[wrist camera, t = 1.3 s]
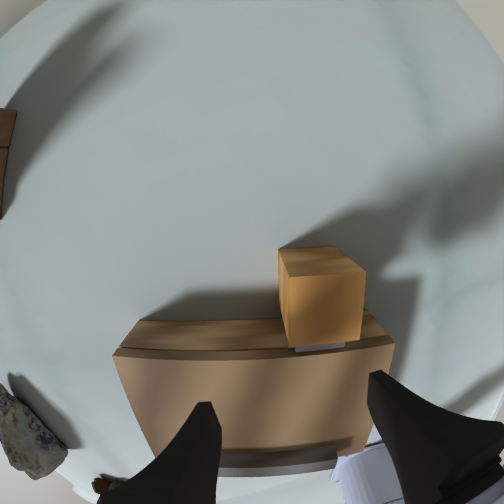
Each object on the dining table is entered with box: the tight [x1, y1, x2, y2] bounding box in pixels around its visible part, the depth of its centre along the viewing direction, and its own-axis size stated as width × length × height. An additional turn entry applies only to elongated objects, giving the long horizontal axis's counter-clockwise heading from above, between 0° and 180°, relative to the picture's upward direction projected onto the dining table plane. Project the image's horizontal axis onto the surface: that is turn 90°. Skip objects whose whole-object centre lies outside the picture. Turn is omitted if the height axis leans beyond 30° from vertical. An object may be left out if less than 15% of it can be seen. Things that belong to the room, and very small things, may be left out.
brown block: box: [278, 246, 367, 347], centre depth 17 cm, size 4×4×6 cm
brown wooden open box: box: [119, 310, 388, 352], centre depth 20 cm, size 18×12×4 cm, turn 93°
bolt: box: [92, 478, 124, 495], centre depth 26 cm, size 6×5×15 cm
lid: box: [112, 336, 396, 477], centre depth 17 cm, size 18×13×5 cm
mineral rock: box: [0, 384, 68, 480], centre depth 20 cm, size 13×11×10 cm
